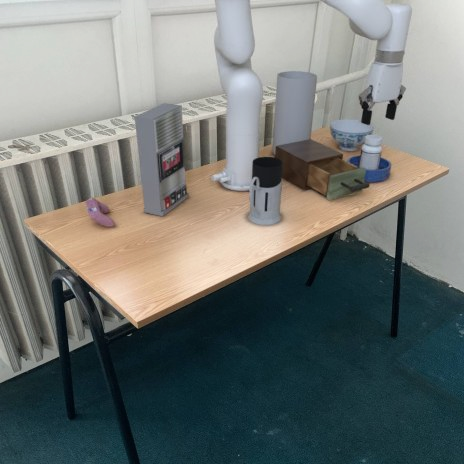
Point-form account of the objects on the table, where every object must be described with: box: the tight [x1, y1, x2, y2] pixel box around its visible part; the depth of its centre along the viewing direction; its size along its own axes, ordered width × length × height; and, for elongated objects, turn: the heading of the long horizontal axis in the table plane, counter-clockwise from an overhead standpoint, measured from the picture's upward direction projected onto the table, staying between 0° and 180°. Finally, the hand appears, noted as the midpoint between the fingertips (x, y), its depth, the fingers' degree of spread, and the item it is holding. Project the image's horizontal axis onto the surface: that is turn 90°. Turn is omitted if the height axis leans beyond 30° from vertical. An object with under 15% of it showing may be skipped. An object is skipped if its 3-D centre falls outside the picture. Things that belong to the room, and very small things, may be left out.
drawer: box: [307, 158, 371, 201], centre depth 139 cm, size 20×12×7 cm, turn 31°
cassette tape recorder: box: [134, 102, 189, 217], centre depth 126 cm, size 14×6×25 cm, turn 155°
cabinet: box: [274, 138, 344, 191], centre depth 148 cm, size 16×14×9 cm
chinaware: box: [329, 119, 375, 152], centre depth 171 cm, size 15×15×8 cm
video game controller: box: [84, 197, 115, 228], centre depth 124 cm, size 10×5×7 cm, turn 21°
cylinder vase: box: [272, 70, 318, 156], centre depth 160 cm, size 12×12×25 cm
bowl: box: [346, 154, 393, 183], centre depth 152 cm, size 13×13×4 cm
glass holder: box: [247, 156, 283, 226], centre depth 122 cm, size 9×14×15 cm, turn 154°
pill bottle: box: [358, 134, 384, 170], centre depth 149 cm, size 6×6×11 cm
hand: (377, 121), depth 143 cm, fingers open, 9 cm apart
